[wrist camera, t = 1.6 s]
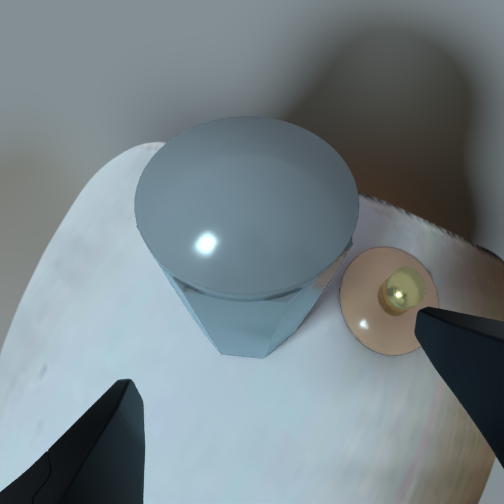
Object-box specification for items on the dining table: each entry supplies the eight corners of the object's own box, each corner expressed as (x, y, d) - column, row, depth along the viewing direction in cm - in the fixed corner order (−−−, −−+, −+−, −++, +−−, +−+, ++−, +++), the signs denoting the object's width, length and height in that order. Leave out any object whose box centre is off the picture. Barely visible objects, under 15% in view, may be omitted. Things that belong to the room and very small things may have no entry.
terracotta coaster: (450, 301, 21) (453, 299, 20) (394, 379, 18) (397, 379, 17) (383, 231, 24) (385, 228, 23) (315, 295, 21) (317, 293, 21)
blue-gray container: (317, 313, 20) (398, 200, 9) (239, 378, 18) (224, 350, 7) (253, 246, 23) (258, 98, 11) (178, 300, 21) (103, 177, 9)
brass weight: (416, 298, 20) (432, 286, 18) (396, 323, 19) (412, 314, 17) (391, 272, 21) (405, 258, 19) (370, 296, 20) (383, 284, 18)
